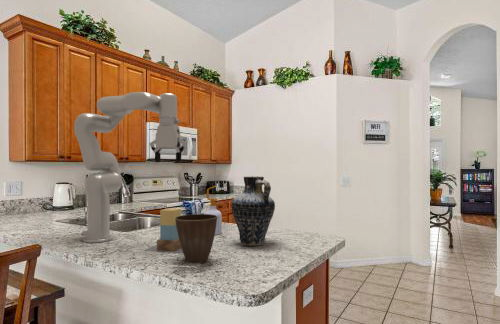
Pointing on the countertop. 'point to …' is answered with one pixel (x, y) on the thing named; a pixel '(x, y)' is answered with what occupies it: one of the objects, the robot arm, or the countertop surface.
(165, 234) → the blue brick
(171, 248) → the walnut base brick
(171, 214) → the ochre brick
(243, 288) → the countertop surface
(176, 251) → the grey flat board
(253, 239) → the jug
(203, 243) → the plant pot
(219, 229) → the soap bottle
